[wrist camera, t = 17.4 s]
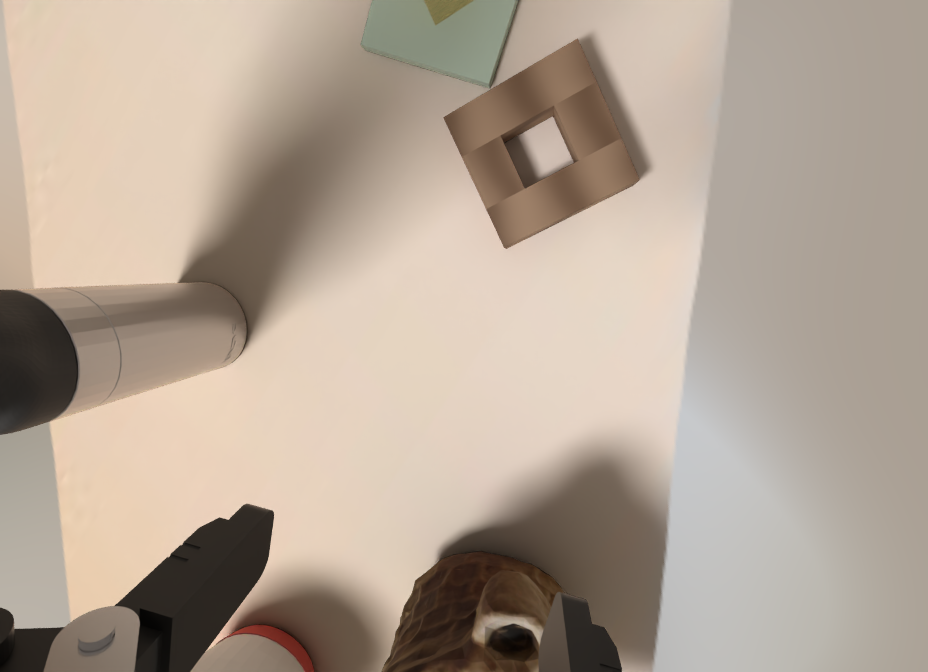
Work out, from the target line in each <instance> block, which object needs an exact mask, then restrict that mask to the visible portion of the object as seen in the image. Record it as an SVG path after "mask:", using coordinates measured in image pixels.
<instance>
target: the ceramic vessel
mask: <svg viewBox="0 0 928 672" xmlns="http://www.w3.org/2000/svg"><path fill="white" fill-rule="evenodd" d="M557 592H561V593H564V592H563V590H562V589H561V587H560V586H559V585H558V583H557V582H556V581H555V580H554V579H553V578H552V577H551V576H550V575H548V574H547V573H545V572H543V571H542V570H540V569H539V568H537V567H536V566H534V565H532V564H529V563H525V562H521V561H519V560H517V559H515V558H511V557H507V556H502V555H496V554H491V553H487V552H483V551H478V552H471V553H465V554H455V555H452V556H449V557H446V558H444V559H442V560H440V561H439V562H438V563H437V564H435V565H434V566H433V567H432V568H431V569H430V570H428V571H427V572H426V573H425V574H423V575H422V576H421V577H419V578H418V579H417V580H415V584H414V587H413V591H412V594H411V596H410V597H409V599H408V601H407V602H406V604H405V606H404V609H403V612H402V616H401V618H400V626H399V627H398V629H397V631H396V633H395V640H394V643H393V646H392V650H391V654H390V657H389V658H388V660H387V661H386V663H385V665H384V667H383V669H382V672H539V666H538V657H539V647H540V641H541V637H542V633H543V630H544V627H545V624H546V621H547V619H548V616H549V613H550V610H551V607H552V604H553V601H554V598H555V595H556V593H557Z"/></svg>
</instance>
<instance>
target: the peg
mask: <svg viewBox="0 0 928 672" xmlns="http://www.w3.org/2000/svg"><path fill="white" fill-rule="evenodd" d="M472 1H474V0H424V2H425V5H426V7H427V9H428V11H429V13H430V15H431V17H432V19H433V21H434V24H435V26H436V25H437V24H439V23H440V22H442V21H443V20H445V19H446V18H448V17H449V16H451V15H452V14H454V13H455V12H457V11H459V10H460V9H462V8H463V7H465V6H466V5H468V4H469V3H471V2H472Z"/></svg>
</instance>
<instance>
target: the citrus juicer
mask: <svg viewBox="0 0 928 672" xmlns="http://www.w3.org/2000/svg"><path fill="white" fill-rule="evenodd" d="M190 672H314V668H313V665H312V662H311V660H310V658H309V656H308V654H307V652H306V651H305V650H304V648H303V647H302V646H301V645H300V644H299V643H298V642H297V641H296V640H295V639H294V638H293V637H291V636H290V635H289V634H287V633H286V632H284V631H282V630H279V629H277V628H274V627H271V626H266V625H252V626H248V627H245V628H242V629H240V630H238V631H236V632H234V633H232V634H231V635H229V636H227V637H225V638H224V639H222V640H221V641H219V642H218V643H217V644H216V645H215V646H214V647H212V648H211V649H209V650H208V651H206V652H205V653H204V654H203V655H202V657H201V658H200V659H199V661H198V662H197V663H196V665H195V666H194V667H193V669H192V670H191V671H190Z"/></svg>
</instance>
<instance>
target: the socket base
mask: <svg viewBox="0 0 928 672" xmlns="http://www.w3.org/2000/svg"><path fill="white" fill-rule="evenodd" d="M552 116H553V117H554V119H555V121H556V124H557V126H558V128H559V130H560V132H561V135H562V137H563V139H564V141H565V144H566V146H567V148H568V150H569V152H570V155H571V157H572V159H573V161H574V163H573V164H571V165H569V166H567V167H565V168H563V169H562V170H560V171H558V172H556V173H554V174H552V175H550V176H548V177H546V178H544V179H543V180H541V181H539V182H537V183H535V184H533V185H531V186H529V187H527V188H524V186H523V184H522V182H521V179H520V177H519V175H518V173H517V171H516V168H515V166H514V164H513V162H512V160H511V158H510V155H509V153H508V151H507V149H506V147H505V145H504V143H505V142H507V141H509V140H510V139H512V138H514V137H516V136H518V135H519V134H521V133H523V132H525V131H527V130H529V129H530V128H532V127H534V126H536V125H538V124H539V123H541V122H543V121H545V120H547V119H548V118H550V117H552ZM443 118H444V120H445V122H446V124H447V126H448V128H449V131H450V133H451V135H452V137H453V139H454V141H455V143H456V145H457V148H458V150H459V152H460V154H461V156H462V158H463V160H464V163H465V165H466V167H467V169H468V171H469V173H470V175H471V178H472V180H473V182H474V184H475V186H476V188H477V190H478V193H479V195H480V197H481V199H482V201H483V203H484V205H485V208H486V210H487V212H488V214H489V216H490V218H491V220H492V223H493V225H494V227H495V229H496V231H497V233H498V235H499V238H500V240H501V242H502V244H503V246H504V248H506V249H507V248H509V247H511V246H513V245H515V244H517V243H519V242H521V241H523V240H525V239H527V238H529V237H531V236H533V235H535V234H537V233H539V232H541V231H543V230H545V229H547V228H549V227H551V226H553V225H555V224H557V223H559V222H561V221H563V220H565V219H567V218H569V217H571V216H573V215H575V214H577V213H579V212H581V211H583V210H585V209H587V208H589V207H591V206H593V205H595V204H597V203H599V202H601V201H603V200H605V199H607V198H609V197H611V196H613V195H615V194H617V193H619V192H621V191H623V190H625V189H627V188H629V187H631V186H633V185H634V184H635V183H637V182H638V181H639V180H640V179H639V177H638V175H637V172H636V170H635V168H634V165H633V163H632V161H631V159H630V156H629V154H628V152H627V150H626V147H625V145H624V143H623V140H622V138H621V136H620V134H619V131H618V129H617V127H616V125H615V122H614V120H613V118H612V115H611V113H610V111H609V109H608V106H607V104H606V102H605V100H604V97H603V95H602V93H601V90H600V88H599V86H598V84H597V81H596V79H595V77H594V75H593V72H592V70H591V68H590V65H589V63H588V61H587V59H586V56H585V54H584V52H583V50H582V47H581V45H580V43H579V40H578V39H576V40H574V41H573V42H571V43H569V44H567V45H566V46H564V47H562V48H561V49H559V50H557V51H556V52H554V53H552V54H550V55H549V56H547V57H545V58H544V59H542V60H540V61H539V62H537V63H535V64H533V65H532V66H530V67H528V68H527V69H525V70H523V71H522V72H520V73H518V74H516V75H515V76H513V77H511V78H510V79H508V80H506V81H504V82H503V83H501V84H499V85H498V86H496V87H494V88H493V89H491V90H489V91H487V92H486V93H484V94H482V95H481V96H479V97H477V98H476V99H474V100H472V101H470V102H469V103H467V104H465V105H464V106H462V107H460V108H459V109H457V110H455V111H453V112H452V113H450V114H448V115H447V116H445V117H443Z"/></svg>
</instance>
